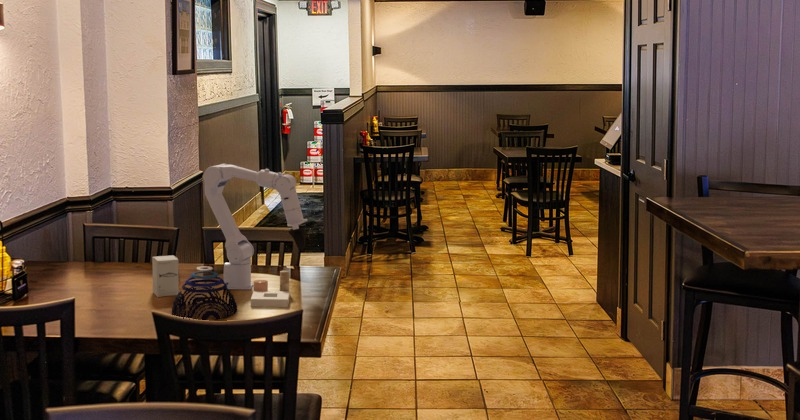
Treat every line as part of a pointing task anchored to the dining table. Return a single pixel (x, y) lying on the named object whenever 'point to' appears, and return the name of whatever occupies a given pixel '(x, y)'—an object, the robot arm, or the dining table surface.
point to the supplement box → (165, 275)
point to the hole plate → (270, 298)
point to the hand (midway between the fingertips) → (302, 247)
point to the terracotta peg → (260, 285)
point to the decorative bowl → (179, 304)
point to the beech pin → (284, 280)
